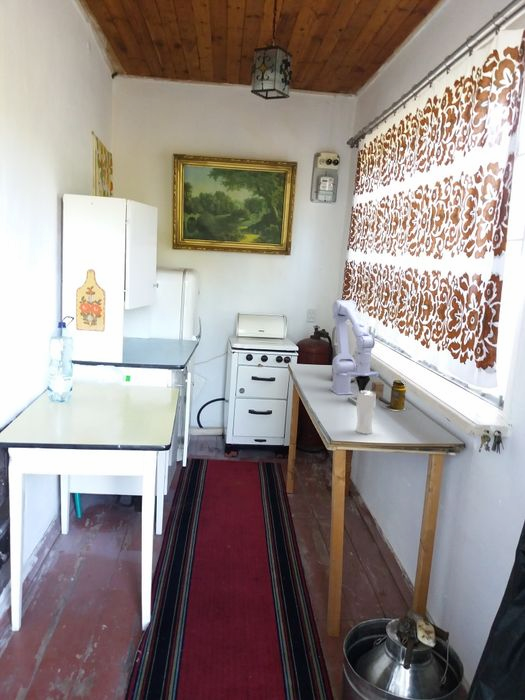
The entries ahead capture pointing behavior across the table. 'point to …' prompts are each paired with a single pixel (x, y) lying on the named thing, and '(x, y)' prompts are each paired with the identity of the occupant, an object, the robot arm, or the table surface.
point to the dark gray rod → (384, 400)
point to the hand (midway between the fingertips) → (361, 392)
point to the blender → (351, 343)
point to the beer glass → (365, 411)
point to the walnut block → (378, 389)
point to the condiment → (397, 396)
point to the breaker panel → (353, 400)
